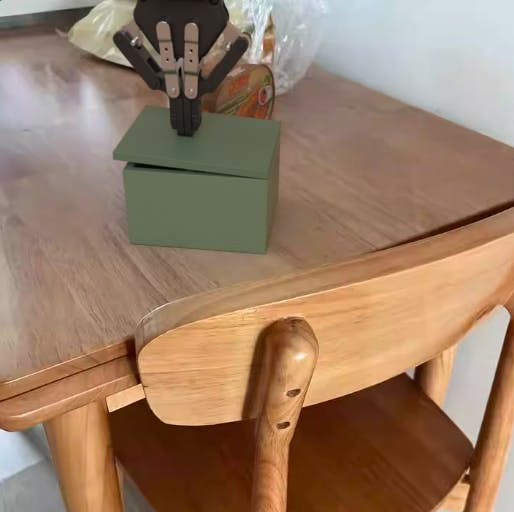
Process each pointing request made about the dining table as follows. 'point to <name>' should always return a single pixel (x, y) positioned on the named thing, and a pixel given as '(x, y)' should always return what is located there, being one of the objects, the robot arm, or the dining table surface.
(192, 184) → the chest
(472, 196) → the dining table surface
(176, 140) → the lid
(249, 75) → the tin
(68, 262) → the dining table surface
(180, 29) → the robot arm
